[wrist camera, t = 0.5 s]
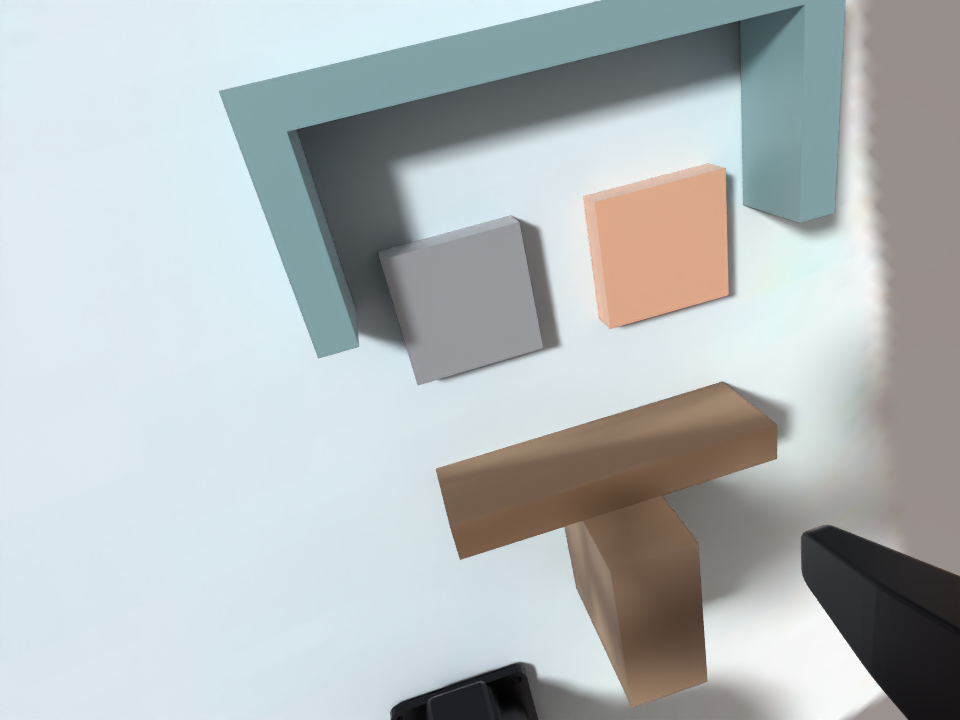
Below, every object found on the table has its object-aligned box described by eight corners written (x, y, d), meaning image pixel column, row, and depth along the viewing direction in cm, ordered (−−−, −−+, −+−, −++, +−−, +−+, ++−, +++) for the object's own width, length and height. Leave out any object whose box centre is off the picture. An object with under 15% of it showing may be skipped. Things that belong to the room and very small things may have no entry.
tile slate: (531, 332, 23) (543, 348, 21) (412, 366, 22) (417, 385, 21) (507, 212, 21) (519, 222, 19) (377, 248, 20) (380, 260, 19)
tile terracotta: (706, 282, 23) (728, 295, 22) (594, 313, 23) (610, 329, 22) (701, 161, 21) (725, 167, 20) (578, 193, 21) (594, 202, 20)
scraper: (728, 537, 29) (817, 643, 23) (481, 618, 28) (515, 749, 22) (722, 381, 25) (826, 464, 20) (435, 468, 24) (463, 581, 18)
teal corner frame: (774, 196, 22) (834, 212, 19) (320, 321, 20) (318, 358, 18) (775, -39, 19) (848, -58, 16) (237, 88, 17) (218, 91, 15)
